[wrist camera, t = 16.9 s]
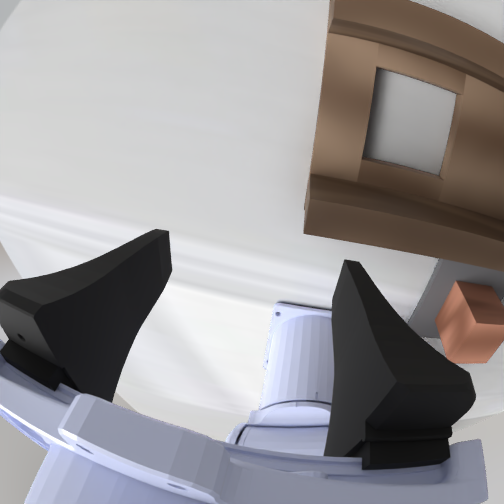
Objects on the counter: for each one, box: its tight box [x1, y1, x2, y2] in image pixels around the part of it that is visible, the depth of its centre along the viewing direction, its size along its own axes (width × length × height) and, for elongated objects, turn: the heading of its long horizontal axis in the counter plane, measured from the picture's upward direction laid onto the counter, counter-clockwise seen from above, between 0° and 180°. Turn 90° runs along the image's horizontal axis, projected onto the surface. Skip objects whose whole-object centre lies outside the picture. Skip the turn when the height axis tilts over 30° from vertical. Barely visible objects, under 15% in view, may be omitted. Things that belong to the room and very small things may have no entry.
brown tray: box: [303, 0, 504, 272], centre depth 13 cm, size 14×23×5 cm, turn 86°
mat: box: [407, 258, 504, 339], centre depth 21 cm, size 9×9×1 cm
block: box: [435, 281, 504, 363], centre depth 19 cm, size 4×4×5 cm
